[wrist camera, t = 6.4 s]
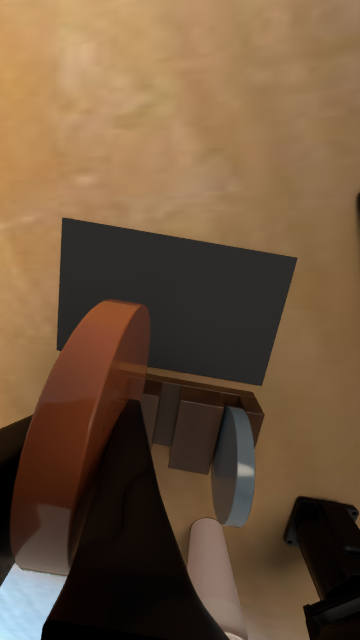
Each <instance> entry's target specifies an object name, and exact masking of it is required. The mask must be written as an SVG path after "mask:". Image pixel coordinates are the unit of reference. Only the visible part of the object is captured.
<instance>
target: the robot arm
mask: <svg viewBox="0 0 360 640" xmlns="http://www.w3.org/2000/svg"><path fill="white" fill-rule="evenodd" d="M32 417H33V415H31V416H29V417H26V418H24V419H22V420H19V421H17V422H15V423H13V424H10V425H8V426H6V427H3V428H1V429H0V586H1V585H2V583H3V581H4V580H5V578H6V576H7V575H8V573H9V571H10V570H11V568H12V566H13V565H14V563H15V561H14V558H13V555H12V553H11V547H10V537H9V526H10V509H11V502H12V495H13V488H14V482H15V478H16V474H17V469H18V465H19V460H20V456H21V452H22V449H23V446H24V442H25V439H26V436H27V432H28V429H29V425H30V423H31V420H32ZM358 515H359V512H358V510H357V509H356V507H354V506H349V505H344V504H338V503H332V502H327V501H321V500H315V499H309V498H304V497H301V498H299V499H298V500H297V503H296V506H295V508H294V511H293V514H292V516H291V519H290V522H289V525H288V527H287V530H286V533H285V535H284V541H285V543H286V544H287V545H290V546H295V547H300V550H301V553H302V555H303V558H304V560H305V563H306V565H307V568H308V570H309V573H310V575H311V578H312V580H313V583H314V585H315V588H316V590H317V593H318V595H319V598H320V601H319V602H316V603H314V604H312V605H309V604H307V605H305V606H303V609H304V613H305V617H306V625H307V629H308V633H309V637H310V640H360V529H359V528H358V526H357V525H356V523H355V522H356V519H357V517H358ZM41 640H230V639H229V638H228V636H227V635H226V634H225V633H224V631H223V630H222V629H221V627H220V626H219V625H218V623H217V622H216V621H215V620H214V618H213V617H212V616H211V614H210V613H209V612H208V611H207V609H206V608H205V606H204V605H203V603H202V601H201V600H200V598H199V596H198V594H197V592H196V590H195V588H194V586H193V584H192V581H191V579H190V577H189V574H188V571H187V569H186V566H185V563H184V561H183V558H182V555H181V552H180V550H179V547H178V544H177V541H176V539H175V536H174V533H173V530H172V527H171V525H170V522H169V519H168V516H167V514H166V511H165V507H164V504H163V501H162V498H161V495H160V491H159V487H158V483H157V479H156V474H155V470H154V465H153V461H152V456H151V451H150V446H149V441H148V437H147V432H146V427H145V422H144V417H143V413H142V408H141V403H140V401H139V400H134V399H129V400H128V402H127V403H126V405H125V407H124V408H123V410H122V412H121V413H120V415H119V417H118V419H117V422H116V425H115V429H114V432H113V435H112V438H111V441H110V445H109V448H108V451H107V454H106V457H105V460H104V464H103V467H102V470H101V473H100V476H99V480H98V483H97V486H96V489H95V492H94V495H93V499H92V502H91V505H90V508H89V511H88V515H87V518H86V521H85V524H84V527H83V530H82V534H81V537H80V540H79V543H78V546H77V551H76V553H75V556H74V559H73V562H72V565H71V568H70V571H69V574H68V576H67V579H66V581H65V584H64V586H63V588H62V590H61V592H60V594H59V596H58V598H57V600H56V602H55V604H54V606H53V608H52V610H51V612H50V614H49V616H48V617H47V619H46V621H45V623H44V625H43V628H42V635H41Z"/></svg>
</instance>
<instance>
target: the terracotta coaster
mask: <svg viewBox="0 0 360 640" xmlns="http://www.w3.org/2000/svg"><path fill="white" fill-rule="evenodd" d="M149 347H150V315H149V310H148V308H147V306H146V305H144V304H139V303H133V302H127V301H122V300H116V299H108V300H104V301H102V302H100V303H99V304H97V305H96V306H95V307H94V308H92V309H91V310H90V311H89V312H88V313H87V314H86V316H85V317H84V318H83V319H82V320H81V322H80V323H79V324H78V326H77V327H76V328H75V330H74V331H73V333H72V334H71V336H70V337H69V339H68V341H67V342H66V344H65V346H64V347H63V349H62V351H61V353H60V355H59V357H58V359H57V361H56V363H55V365H54V366H53V368H52V370H51V372H50V375H49V377H48V379H47V382H46V384H45V386H44V389H43V391H42V393H41V396H40V398H39V401H38V403H37V406H36V409H35V412H34V414H33V417H32V420H31V423H30V425H29V429H28V432H27V436H26V439H25V442H24V446H23V449H22V452H21V456H20V460H19V465H18V469H17V474H16V478H15V482H14V488H13V495H12V502H11V509H10V526H9V537H10V547H11V553H12V555H13V558H14V561H15V563H16V564H17V565H18V566H19V567H20V568H21V569H22V570H23V571H28V572H34V573H40V574H45V575H51V576H57V577H63V578H67V576H68V574H69V571H70V568H71V565H72V562H73V559H74V556H75V553H76V551H77V546H78V543H79V540H80V537H81V534H82V530H83V527H84V524H85V521H86V518H87V515H88V511H89V508H90V505H91V502H92V499H93V495H94V492H95V489H96V486H97V483H98V480H99V476H100V473H101V470H102V467H103V464H104V460H105V457H106V454H107V451H108V448H109V445H110V441H111V438H112V435H113V432H114V429H115V425H116V422H117V419H118V417H119V415H120V413H121V412H122V410H123V408H124V407H125V405H126V403H127V402H128V400H129V399H134V400H139V401H140V403H141V400H142V395H143V389H144V384H145V378H146V371H147V364H148V357H149Z"/></svg>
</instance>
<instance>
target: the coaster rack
mask: <svg viewBox="0 0 360 640" xmlns="http://www.w3.org/2000/svg"><path fill="white" fill-rule="evenodd" d="M226 405H229V406H234V407H240V408H242V409H243V410H244V411H245V413H246V414H247V417H248V419H249V422H250V426H251V430H252V435H253V442H254V449H255V446H256V442H257V439H258V436H259V432H260V429H261V425H262V422H263V418H264V413H263V411H262V409H261V407H260V405H259V403H258V401H257V399H256V398H255V396H254V394H253V392H247V391H242V390H236V389H230V388H224V387H219V386H213V385H207V384H201V383H196V382H190V381H184V380H178V379H173V378H167V377H161V376H155V375H150V374H146V378H145V384H144V389H143V395H142V400H141V408H142V413H143V417H144V422H145V427H146V432H147V437H148V441H149V446H150V451H151V449H152V445H153V443H154V444H160V445H166V446H170V454H169V463H168V468H172V469H178V470H183V471H189V472H195V473H201V474H206V475H208V473H209V469H210V465H211V461H212V457H213V452H214V448H215V444H216V440H217V436H218V432H219V428H220V424H221V419H222V415H223V411H224V406H226Z"/></svg>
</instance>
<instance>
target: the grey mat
mask: <svg viewBox="0 0 360 640" xmlns="http://www.w3.org/2000/svg"><path fill="white" fill-rule="evenodd" d="M296 261H297V258H295V257H289V256H284V255H278V254H272V253H266V252H260V251H255V250H249V249H243V248H237V247H231V246H225V245H220V244H214V243H208V242H202V241H196V240H191V239H185V238H179V237H173V236H167V235H162V234H156V233H150V232H144V231H138V230H133V229H127V228H121V227H115V226H109V225H104V224H98V223H92V222H86V221H80V220H74V219H69V218H62V237H61V261H60V285H59V308H58V332H57V350H59V351H62V349H63V347H64V346H65V344H66V342H67V341H68V339H69V337H70V336H71V334H72V333H73V331H74V330H75V328H76V327H77V326H78V324H79V323H80V322H81V320H82V319H83V318H84V317H85V316H86V314H87V313H88V312H89V311H90V310H91V309H92V308H94V307H95V306H96V305H97V304H99V303H100V302H102V301H104V300H108V299H116V300H122V301H127V302H133V303H139V304H144V305H146V306H147V308H148V310H149V315H150V347H149V357H148V364H147V366H151V367H156V368H162V369H168V370H174V371H179V372H185V373H191V374H197V375H202V376H208V377H214V378H220V379H225V380H231V381H237V382H243V383H248V384H254V385H260V386H262V383H263V380H264V376H265V372H266V369H267V365H268V362H269V358H270V354H271V351H272V347H273V344H274V340H275V337H276V333H277V329H278V326H279V322H280V319H281V315H282V312H283V308H284V304H285V301H286V297H287V294H288V290H289V287H290V283H291V279H292V276H293V272H294V269H295V265H296Z"/></svg>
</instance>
